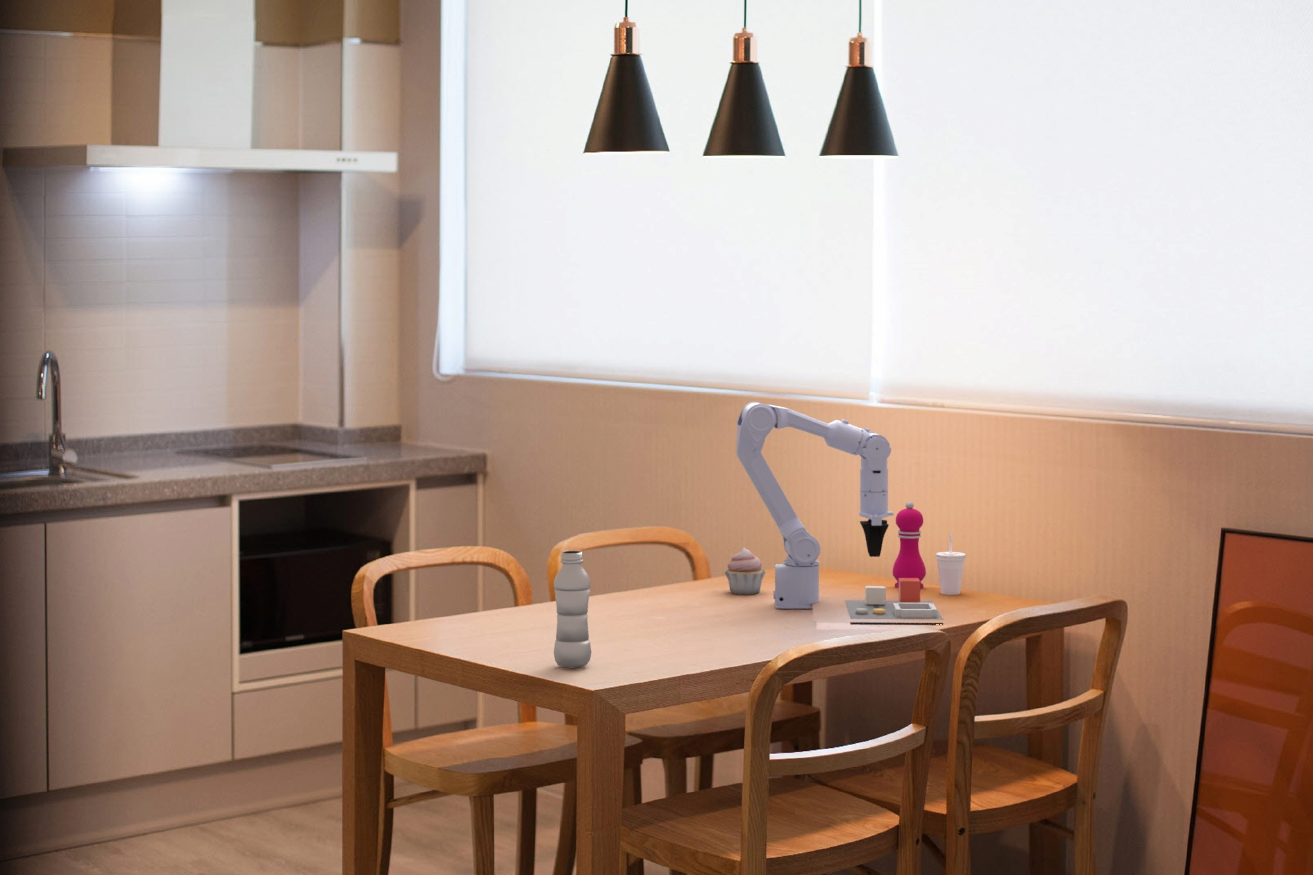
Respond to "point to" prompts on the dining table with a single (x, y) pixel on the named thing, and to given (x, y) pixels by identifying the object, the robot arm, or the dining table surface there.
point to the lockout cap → (909, 590)
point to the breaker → (875, 595)
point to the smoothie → (950, 570)
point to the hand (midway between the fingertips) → (874, 555)
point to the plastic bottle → (572, 612)
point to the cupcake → (745, 573)
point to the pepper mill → (909, 545)
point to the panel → (892, 612)
